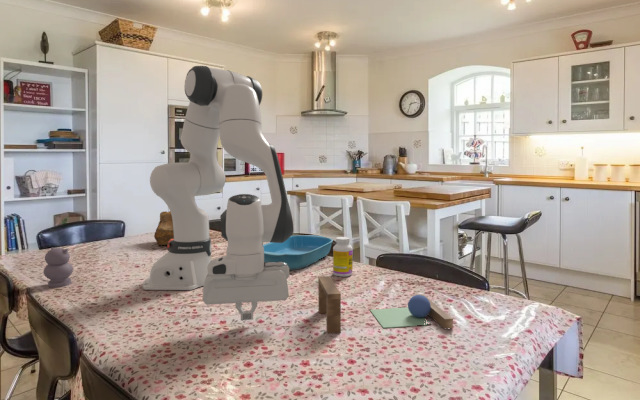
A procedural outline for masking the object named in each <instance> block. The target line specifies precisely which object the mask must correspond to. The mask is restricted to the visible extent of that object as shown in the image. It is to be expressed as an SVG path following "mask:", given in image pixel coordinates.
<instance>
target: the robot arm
mask: <svg viewBox="0 0 640 400" xmlns="http://www.w3.org/2000/svg"><path fill="white" fill-rule="evenodd" d="M184 93H185V95H186V97H187V99H188V100H189V103H188V105H187V106H188V107H187V110H186V113H185V117H184V121H183V126H182V131H181V134H180V143H181V145H182V147H183V148H184V149H185V151H187V152H188V153H189V160H188V162H187V161H186V162H169V163H163V164H161V165H160V164H159V165H157V166H155V167H154V168H153V170H152V172H151V173H150V176H149V184H150V188H151V189H152V191H153V193H154V194H155V195H156V196H157V197H159V198H160V199H162V201H164V203H165V204H166V205H167V207H168V209H169V211H170V212H171V215H172V220H173V230H174V239H170V240H169V241H168V244H166V245H167V251H168V252H166V253H165V254H164V255H163V256H161V257H160V258H159V259H158V260H156V261H155V262H154V263H153V265H152V266H151V268H150V271H149V272H150V273H149V277H147V278H146V279H145V280H143V282H142V289H143V290H146V291H150V290H151V291H152V290H153V291H191V290H194V289H197V288H201V287H203V288H202V302H203V303H204V304H205V305H206V306H207V305H223V304H225V305H226V304H235V308H236V310H237V312H238V313H239V314H240V321H250V320H254V313H255V311H256V309H257V308H258V303H261V302H277V301H280V302H281V301H286V300H287V299H288V297H289V293H290V292H289V287H288V286H289V285H288V278H289V277H290V269H289V267H288V265H287V264H285V263H283V262H264V247H263V245H264V243H270V242H273V243H283V242H285V241H286V240H287V239H288V238H289V237H290V236H293V234H294V230H295V220H294V216H293V212H292V211H291V206H290V202H289V200H288V199H289V198H288V195H287V191H286V186H285V182H284V178H283V173H282V169H281V164H280V161H279V156H278V153H277V150H276V148H275V146H274V145H273V144H272V143H269V142H268V141H267V139H266V138H265V135H264V132H263V128H262V127H263V125H262V115H261V103H262V101H263V100H262V99H263V89H262V85H261V83H260V82H259V81H258V80H257V79H255V78H253V77H251V76H250V75H249V76H248V75H247V76H246V75H243V74H241V73H238V72H235V71H231V70H225V69H220V68H215V67H214V68H213V67H209V66H207V65H195V66H194V65H193V66H192V67H191V68H190V69H189V70H188V72H187V73H186V76H185V80H184ZM219 139H220V140H219ZM219 141H220V144H221V146H222V148H223V150H224V151H225V152H226V153H227V154H228V155H230V156H231V157H232V158H233V159H237V160H239V161H241V162H245V163H247V164H249V165H252V166H253V167H254V166H255V167H256V168H259V169H260V170H261V171H262V172H263V173H264V174H265V177H266V180H267V186H268V190H269V194H270V199H271V203H270V204H262V202H261V199H260V198H259V196H256V195H255V194H250V193H249V194H248V193H239V194H235V195H232V196H230V197H229V198H228V200H227V205H226V209H224V211H223V212H222V213H221V215H220V217H219V218H220V226H221V230H220V231H221V233H220V236H221V237H222V238H223V239H224V240H225V241H227V247H226V255H224V256H220V257H218V258H215V259H212V257H211V255H212V252H213V251H212V241H211V240H212V239H211V237H210V220H209V219H210V218H209V214H208V213H207V212H206V211H205V210H203V209H201V207H199V206H198V205H197V202H196V198H195V197H198V196H209V195H212V194H215V193H218V192H220V191H222V190H223V188H224V187H225V184H226V174H225V170H224V169H223V167H222V166H221V165H220V164H219V161H218V156H217V152H218V151H217V150H218V144H219ZM262 242H263V244H262ZM283 265H285V266H283ZM245 303H250V304H251V308H250V310H244V309H243V308H242V306H243V305H242V304H245Z"/></svg>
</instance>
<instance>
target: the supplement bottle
mask: <svg viewBox="0 0 640 400" xmlns="http://www.w3.org/2000/svg"><path fill="white" fill-rule="evenodd" d="M350 239H351V238H350V237H347V236H337V237H336V238H335V243H336V244H335V245H333V247H332V251H333V252H332V253H333V254H332V256H333V258H332V259H333V260H332V264H333V265H332V267H333V268H332V271H333V273H332V274H333V275H334V276H336V277H340V278H341V277H342V278H343V277H344V278H346V277H350V276H352V274H353V247H352V245H351V244H350V241H351V240H350Z"/></svg>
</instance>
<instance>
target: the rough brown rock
mask: <svg viewBox="0 0 640 400" xmlns="http://www.w3.org/2000/svg"><path fill="white" fill-rule="evenodd" d="M153 237H154V239H155V241H156V245H157V246H159V245H164V246H166V245H168V241H169V240H170V239H174V230H173V220H172V215H171V212H170V210H169V211H161V212H160V214H159V221H158V225H157V228H156V229H155V232H154V236H153Z"/></svg>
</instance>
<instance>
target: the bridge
mask: <svg viewBox="0 0 640 400" xmlns="http://www.w3.org/2000/svg"><path fill="white" fill-rule="evenodd" d="M317 280H318V282H317V283H318V286H317V287H318V290H317V292H318V314H321V315H322V314H324V315H325V314H326V317H325V318H326V332H327V334H340V333H342V332H341V331H342V328H341V326H342V322H341V321H342V319H341V318H342V315H341V313H342V312H341V311H342V310H341V309H342V308H341V307H342V305H341V304H342V302H341V301H342V298H341V297H342V294H341V292H340V290H339V288H338V287H337V286H336V284H335V282H334V281H333V279H332V277H331V276H330V275H328V276H327V275H326V276H325V275H324V276H318V279H317Z"/></svg>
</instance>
